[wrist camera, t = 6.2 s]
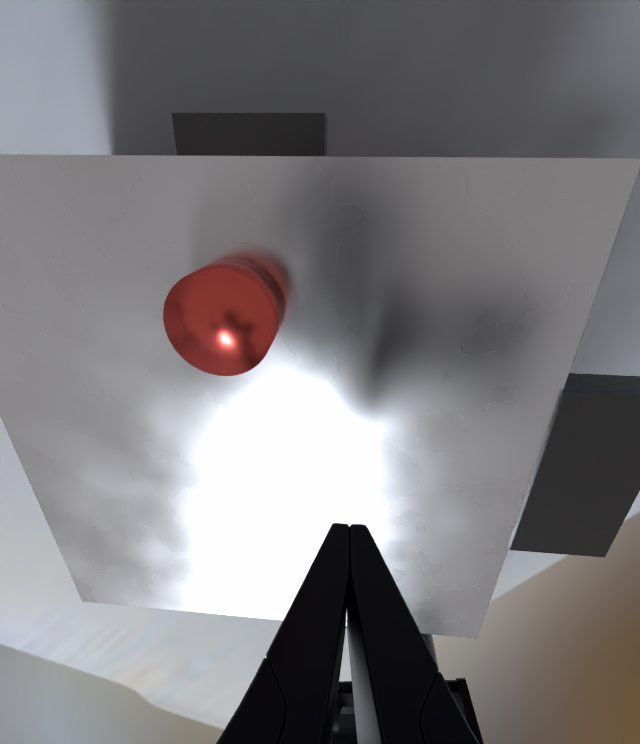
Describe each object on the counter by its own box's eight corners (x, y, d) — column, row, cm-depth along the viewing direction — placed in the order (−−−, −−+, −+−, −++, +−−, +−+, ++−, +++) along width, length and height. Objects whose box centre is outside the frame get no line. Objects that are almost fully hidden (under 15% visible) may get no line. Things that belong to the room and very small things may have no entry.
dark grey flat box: (420, 487, 24) (451, 616, 17) (175, 473, 25) (105, 590, 18) (479, 143, 15) (593, 105, 8) (105, 141, 16) (-84, 105, 9)
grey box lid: (543, 616, 16) (577, 695, 13) (98, 577, 17) (55, 641, 15) (753, 162, 8) (919, 153, 6) (-68, 157, 10) (-211, 147, 7)
